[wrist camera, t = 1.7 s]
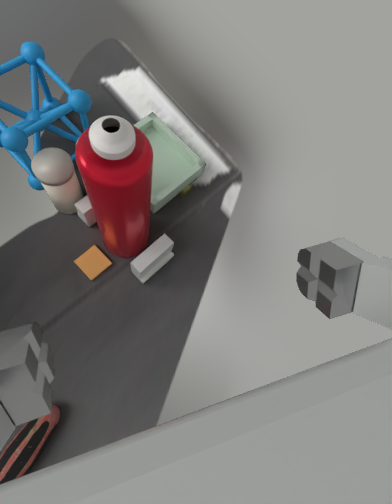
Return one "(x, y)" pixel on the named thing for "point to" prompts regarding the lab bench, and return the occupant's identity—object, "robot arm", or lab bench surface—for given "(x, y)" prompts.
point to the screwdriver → (27, 446)
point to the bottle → (118, 182)
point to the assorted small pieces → (163, 190)
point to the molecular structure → (40, 119)
